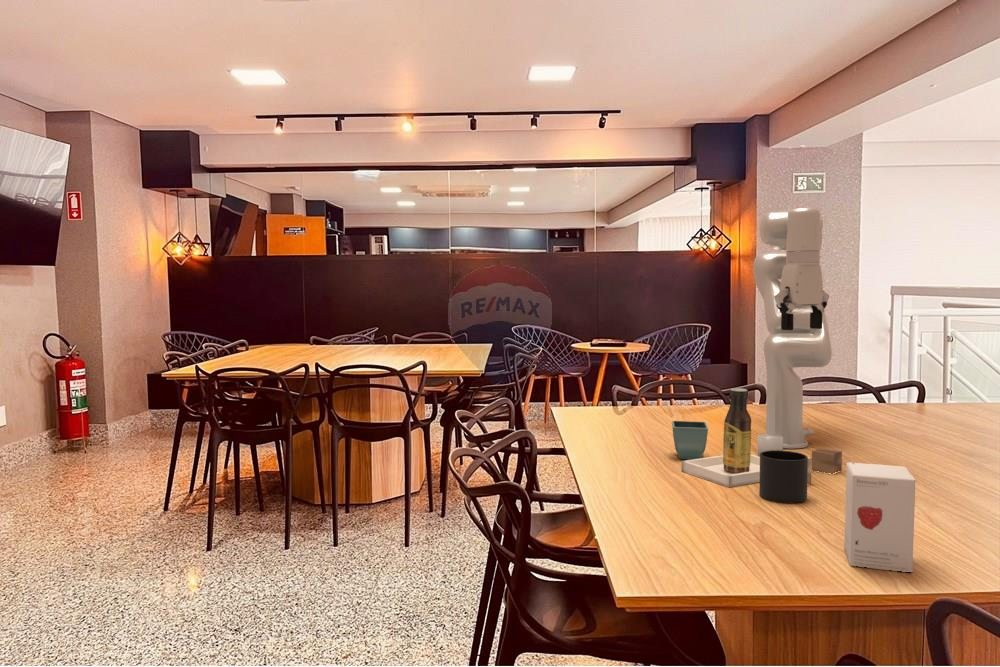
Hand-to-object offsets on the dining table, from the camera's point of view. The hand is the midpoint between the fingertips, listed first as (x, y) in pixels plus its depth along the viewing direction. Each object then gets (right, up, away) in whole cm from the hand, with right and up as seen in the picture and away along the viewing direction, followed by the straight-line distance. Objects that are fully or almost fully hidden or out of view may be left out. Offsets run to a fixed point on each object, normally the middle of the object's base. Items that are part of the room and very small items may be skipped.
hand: (801, 329), depth 173 cm
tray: (-17, -35, -4) cm, 39 cm away
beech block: (-6, -35, -12) cm, 38 cm away
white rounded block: (-6, -34, +6) cm, 35 cm away
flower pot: (-24, -34, +12) cm, 44 cm away
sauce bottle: (-17, -34, -4) cm, 39 cm away
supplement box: (-13, -38, -58) cm, 71 cm away
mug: (-13, -36, -22) cm, 44 cm away
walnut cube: (+5, -35, -2) cm, 35 cm away
